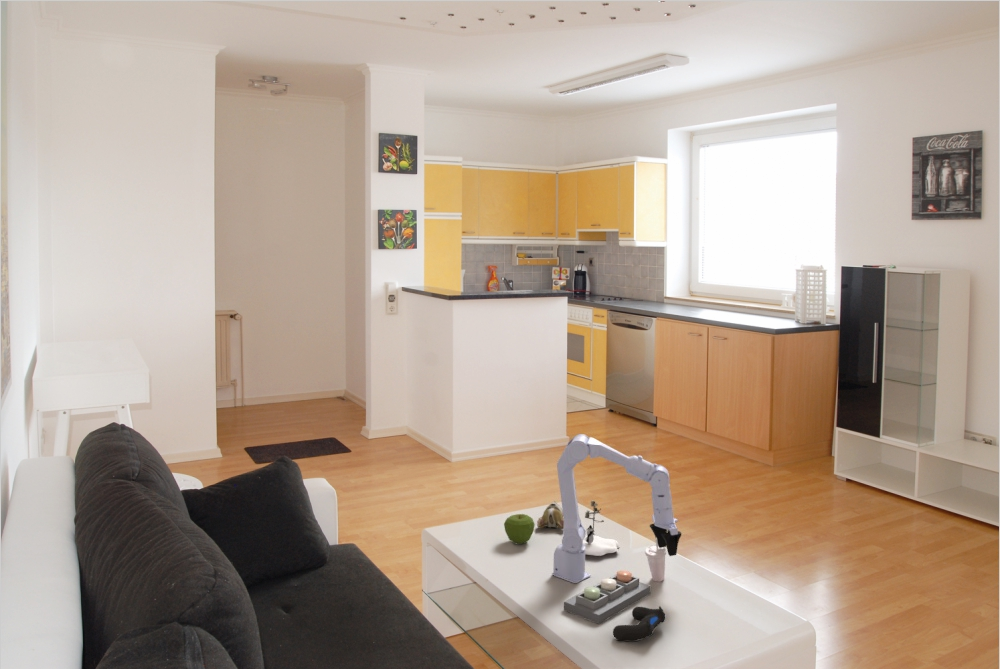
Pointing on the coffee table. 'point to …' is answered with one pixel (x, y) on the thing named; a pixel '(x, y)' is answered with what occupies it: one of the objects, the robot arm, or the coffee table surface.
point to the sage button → (592, 593)
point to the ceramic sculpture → (552, 517)
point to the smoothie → (656, 561)
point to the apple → (519, 528)
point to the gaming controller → (640, 624)
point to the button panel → (607, 600)
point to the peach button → (624, 576)
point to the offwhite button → (608, 584)
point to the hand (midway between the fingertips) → (667, 551)
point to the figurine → (597, 538)
